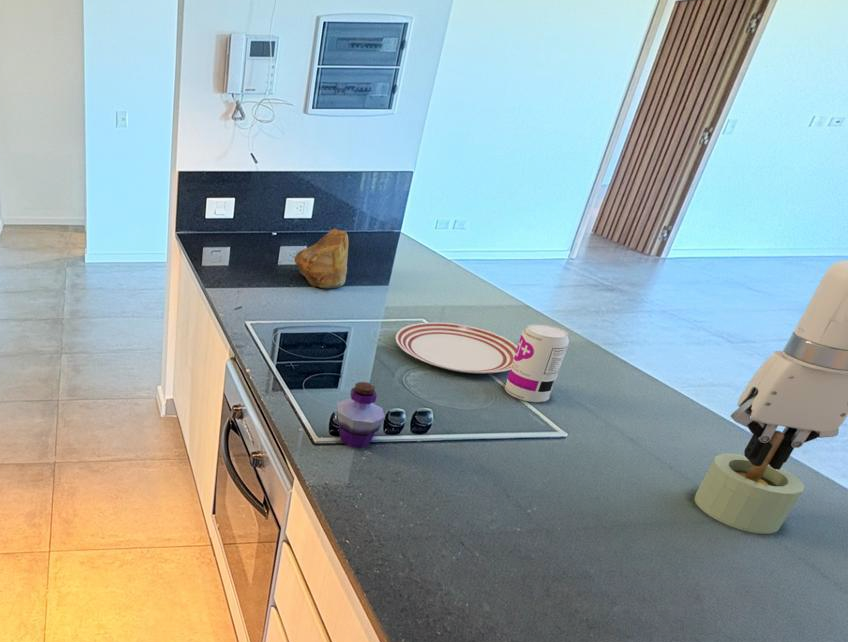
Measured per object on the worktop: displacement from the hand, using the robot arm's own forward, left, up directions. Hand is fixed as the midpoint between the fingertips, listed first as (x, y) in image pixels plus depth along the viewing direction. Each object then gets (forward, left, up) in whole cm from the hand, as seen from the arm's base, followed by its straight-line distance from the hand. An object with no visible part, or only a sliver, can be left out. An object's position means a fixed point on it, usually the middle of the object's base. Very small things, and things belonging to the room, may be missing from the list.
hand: (761, 462), depth 92 cm
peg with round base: (0, 0, -8) cm, 8 cm away
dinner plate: (+35, -48, -10) cm, 60 cm away
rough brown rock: (+70, -96, -10) cm, 119 cm away
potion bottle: (+57, -1, -10) cm, 58 cm away
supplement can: (+23, -32, -10) cm, 40 cm away
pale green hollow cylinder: (0, 0, -10) cm, 10 cm away
